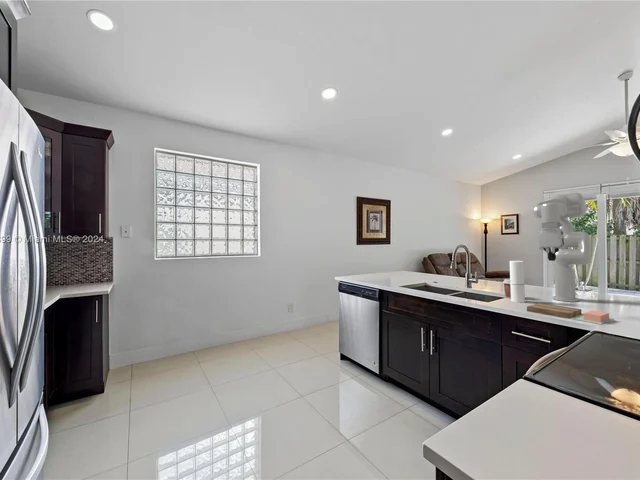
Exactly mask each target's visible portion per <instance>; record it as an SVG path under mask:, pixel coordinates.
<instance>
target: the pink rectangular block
mask: <svg viewBox="0 0 640 480" xmlns="http://www.w3.org/2000/svg"><path fill="white" fill-rule="evenodd" d="M583 314H584V320H589V321H595V322H600V323H601V322H604V321H607V320H609V318H610V313H609V312H603V311H597V310H588V311H586V312H584V313H583Z"/></svg>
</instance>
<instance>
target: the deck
mask: <svg viewBox="0 0 640 480" xmlns="http://www.w3.org/2000/svg"><path fill="white" fill-rule="evenodd" d="M526 311H527V312H529V313H530V312H531V313H536V314H542V315H545V316H547V315H548V316H553V317H556V318H557V317H558V318H563V319H567V320H568V319H570V318H572V317H575V316H578V315H581V314H583V313H582V309H581V308H575V307H568V306H560V305H555V304H548V303H542V302H538V303H535V304H531V305H527V306H526Z"/></svg>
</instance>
